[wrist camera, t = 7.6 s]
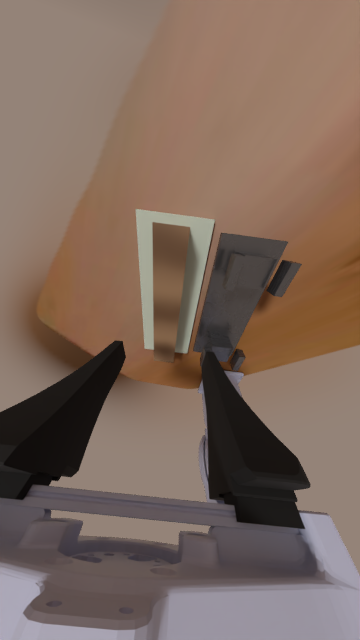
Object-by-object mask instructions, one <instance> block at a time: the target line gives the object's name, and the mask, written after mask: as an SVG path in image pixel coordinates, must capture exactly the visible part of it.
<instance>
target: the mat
mask: <svg viewBox="0 0 360 640" xmlns="http://www.w3.org/2000/svg"><path fill="white" fill-rule="evenodd" d="M136 221H137V236H138V252H139V267H140V283H141V298H142V313H143V329H144V344H145V349H153V350H154V327H153V233H152V222H156V223H164V224H171V225H179V226H186V227H190V233H189V242H188V250H187V258H186V266H185V274H184V282H183V290H182V298H181V306H180V314H179V322H178V330H177V338H176V346H175V352H179V353H187V352H188V347H189V342H190V337H191V333H192V328H193V323H194V318H195V313H196V309H197V304H198V299H199V294H200V289H201V285H202V280H203V275H204V270H205V265H206V261H207V256H208V251H209V246H210V241H211V236H212V232H213V227H214V222H215V220H214V219H206V218H199V217H191V216H184V215H177V214H169V213H162V212H154V211H147V210H139V209H136Z"/></svg>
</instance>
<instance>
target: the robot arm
mask: <svg viewBox="0 0 360 640" xmlns="http://www.w3.org/2000/svg"><path fill="white" fill-rule="evenodd" d="M125 358H126V356H125V351H124V346H123V341H114V342H113V343H112V344H110V345H109V346H108V347H107V348H105V349H104V350H103V351H102V352H100V353H99V354H98V355H96V356H95V357H94V358H93V359H91V360H90V361H89V362H87V363H86V364H85V365H83V366H82V367H80V368H79V369H78V370H76V371H75V372H73V373H72V374H70V375H69V376H67V377H65V378H64V379H62V380H61V381H59V382H57V383H56V384H54V385H52V386H50V387H48V388H47V389H45V390H43V391H41V392H40V393H38V394H36V395H34V396H32V397H30V398H28V399H27V400H24V401H22V402H21V403H18V404H17V405H15V406H12V407H10V408H8V409H6V410H4V411H2V412H0V640H360V575H359V573H358V571H357V569H356V567H355V565H354V563H353V561H352V559H351V557H350V555H349V553H348V551H347V549H346V547H345V545H344V543H343V541H342V539H341V537H340V535H339V533H338V531H337V529H336V527H335V525H334V523H333V521H332V519H331V517H330V516H329V515H328V514H327V513H321V512H312V511H299V510H298V509H297V506H296V504H295V502H297V498H296V495H295V493H294V490H300V489H306V488H309V487H310V482H309V481H308V478H307V476H306V474H305V472H304V470H303V468H302V466H301V464H300V462H299V460H298V458H297V457H296V456H295V455H294V454H293V453H292V452H291V451H290V450H289V449H288V448H287V447H286V446H285V445H284V444H283V443H282V442H281V441H280V440H278V438H277V437H276V436H275V435H274V434H273V433H272V432H271V431H270V430H269V429H268V428H267V427H266V426H265V424H264V423H263V422H262V421H261V420H260V419H259V418H258V416H257V415H256V414H255V413H254V412H253V411H252V410H251V409H250V407H249V406H248V405H247V403H246V402H245V401H244V400H243V398H242V395H241V392H240V389H239V386H238V383H239V382H240V380H241V379H242V377H243V376H244V374H243V373H241V372H232V371H224V370H223V368H222V367H221V365H220V363H219V361H218V359H217V357H216V355H215V353H214V352H209V351H206V354H205V357H204V360H203V363H202V381H201V384H200V386H199V389H198V393H202V400H203V412H204V421H205V425H206V427H207V428H206V429H205V435H204V436H203V437H202V439H201V442H200V445H199V467H200V473H201V478H202V481H203V484H204V488H205V493H206V499H207V502H198V501H188V500H178V499H168V498H159V497H150V496H139V495H131V494H121V493H111V492H101V491H92V490H82V489H72V488H63V487H54V486H49V484H50V483H51V481H52V480H55V481H58V480H59V479H60V477H61V476H66V477H72V476H73V475H74V474H76V473H77V471H78V470H79V467H80V464H81V461H82V459H83V456H84V453H85V450H86V447H87V444H88V442H89V439H90V436H91V433H92V431H93V428H94V425H95V423H96V421H97V418H98V416H99V413H100V411H101V408H102V406H103V403H104V401H105V399H106V397H107V395H108V393H109V391H110V389H111V387H112V385H113V384H114V382H115V380H116V378H117V376H118V374H119V372H120V370H121V368H122V366H123V363H124V361H125ZM50 509H51V510H61V511H71V512H80V513H90V514H100V515H110V516H120V517H129V518H139V519H149V520H159V521H169V522H178V523H188V524H198V525H208V526H211V527H210V528H209V532H208V534H206V533H202V532H194V531H180V533H179V545H173V544H167V543H159V542H153V541H146V540H137V539H128V538H115V537H97V536H79V533H80V530H81V528H82V525H83V521H81V520H75V519H69V518H51V510H50Z"/></svg>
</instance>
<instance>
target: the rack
mask: <svg viewBox="0 0 360 640" xmlns="http://www.w3.org/2000/svg"><path fill="white" fill-rule="evenodd" d="M287 243H288V242H287V241H279V240H272V239H264V238H257V237H249V236H242V235H234V234H227V233H221V235H220V240H219V244H218V248H217V252H216V256H215V260H214V265H213V269H212V273H211V277H210V281H209V285H208V290H207V294H206V298H205V302H204V306H203V310H202V315H201V319H200V323H199V327H198V331H197V335H196V340H195V344H194V348H193V351H195V352H202V353H201V357H200V366H201V367H202V363H203V360H204V357H205V354H206V351H209V352H214V353H215V355H216V357H217V359H218V361H223V362H227V360H228V358H229V356H231V355H232V353H233V351H234V349H235V347H236V345H237V343H238V341H239V339H240V337H241V335H242V333H243V331H244V329H245V327H246V325H247V323H248V321H249V319H250V317H251V315H252V313H253V311H254V309H255V307H256V305H257V303H258V301H259V299H260V297H261V295H262V293H263V291H264V289H265V287H266V285H267V283H268V281H269V279H270V277H271V275H272V273H273V271H274V269H275V267H276V265H277V263H278V261H279V259H280V257H281V255H282V253H283V251H284V249H285V247H286V245H287ZM301 265H302V264H300V263H296V262H292V261H286V260H282V262H281V264H280V266H279V268H278V270H277V272H276V273H275V275H274V277H273V279H272V281H271V283H270V285H269V287H268V289H267V291H268V292H269V293H271V294H272V295H273V296H279V297H282V296H283V294H284V293H285V291H286V289H287V288H288V286H289V285H290V283H291V281H292V280H293V278H294V276H295V275H296V273H297V271H298V270H299V268H300V266H301ZM244 359H245V355H244V353H243V351H242V350H239V349H236V351H235V353H234V355H233V357H232V359H231V361H230V364H231V368H232V370H236V371H238V369H239V368H240V366H241V364H242V363H243V361H244Z"/></svg>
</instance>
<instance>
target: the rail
mask: <svg viewBox="0 0 360 640" xmlns="http://www.w3.org/2000/svg"><path fill="white" fill-rule="evenodd" d="M152 233H153V327H154V361H163V362H171V363H173V362H174V354H175V346H176V338H177V330H178V322H179V314H180V306H181V298H182V290H183V282H184V274H185V266H186V258H187V250H188V242H189V233H190V227H186V226H179V225H171V224H164V223H156V222H152Z"/></svg>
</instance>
